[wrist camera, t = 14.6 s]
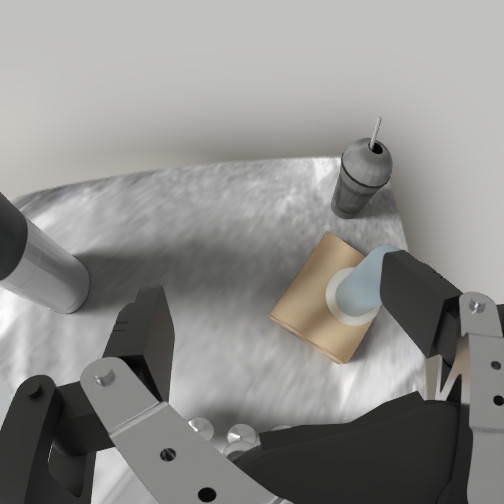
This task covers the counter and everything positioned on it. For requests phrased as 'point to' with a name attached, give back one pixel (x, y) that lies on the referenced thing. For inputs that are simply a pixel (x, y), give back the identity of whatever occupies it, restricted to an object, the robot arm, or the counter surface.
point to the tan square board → (324, 302)
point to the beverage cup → (361, 174)
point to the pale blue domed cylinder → (363, 284)
